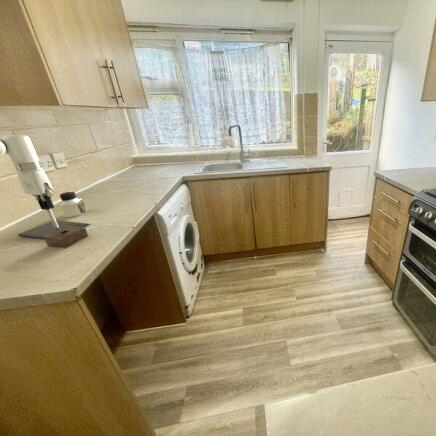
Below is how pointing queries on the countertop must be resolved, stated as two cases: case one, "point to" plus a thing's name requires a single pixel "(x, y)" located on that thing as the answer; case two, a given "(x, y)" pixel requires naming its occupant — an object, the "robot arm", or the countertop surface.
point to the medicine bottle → (72, 204)
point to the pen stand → (65, 236)
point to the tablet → (49, 229)
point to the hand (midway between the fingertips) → (48, 208)
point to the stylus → (52, 218)
